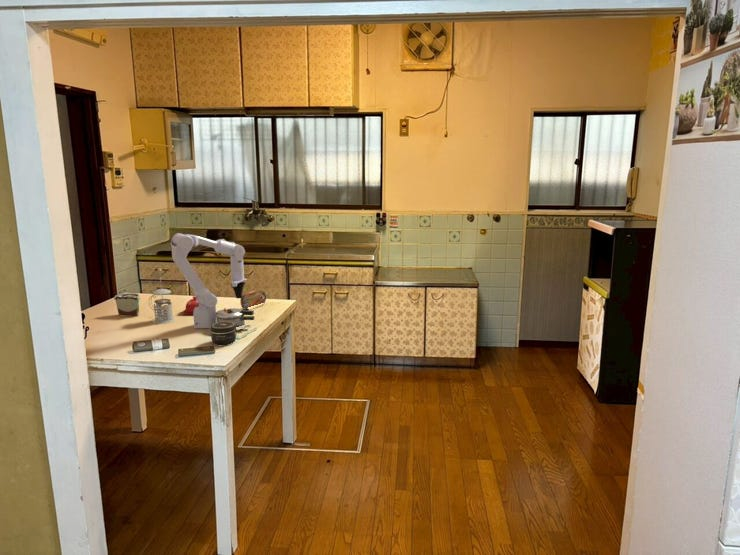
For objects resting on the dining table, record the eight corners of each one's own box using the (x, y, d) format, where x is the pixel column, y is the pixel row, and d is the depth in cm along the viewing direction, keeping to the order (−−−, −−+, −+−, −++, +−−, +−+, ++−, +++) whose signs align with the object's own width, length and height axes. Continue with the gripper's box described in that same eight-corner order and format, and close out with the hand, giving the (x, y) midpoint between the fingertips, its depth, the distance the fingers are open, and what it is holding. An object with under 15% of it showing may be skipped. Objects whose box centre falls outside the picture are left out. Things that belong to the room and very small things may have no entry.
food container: (146, 312, 252) (144, 293, 250) (140, 316, 246) (138, 296, 244) (123, 312, 253) (121, 292, 251) (116, 315, 247) (113, 295, 245)
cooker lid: (211, 318, 222) (210, 313, 222) (221, 310, 234) (221, 305, 234) (248, 319, 221) (248, 314, 221) (257, 311, 233) (257, 306, 233)
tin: (243, 311, 255) (242, 295, 253) (239, 310, 257) (238, 294, 255) (266, 304, 266) (266, 289, 265) (262, 303, 268) (261, 288, 266)
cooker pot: (213, 332, 223) (212, 319, 222) (221, 323, 235) (220, 311, 234) (251, 332, 224) (250, 319, 222) (257, 323, 235) (256, 311, 234)
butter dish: (204, 315, 248) (203, 299, 246) (181, 316, 248) (179, 299, 246) (211, 309, 259) (210, 293, 257) (188, 309, 259) (187, 293, 257)
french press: (167, 324, 234) (162, 271, 228) (145, 322, 236) (139, 270, 231) (179, 318, 243) (175, 266, 238) (157, 316, 246) (152, 265, 240)
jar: (214, 338, 216) (213, 321, 214) (238, 337, 217) (237, 320, 215) (208, 346, 206) (207, 328, 204) (234, 346, 207) (232, 328, 205)
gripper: (242, 273, 230) (243, 302, 233) (249, 266, 244) (250, 294, 247) (226, 273, 230) (228, 302, 233) (234, 266, 244) (236, 294, 247)
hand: (239, 298), depth 240 cm, fingers closed
